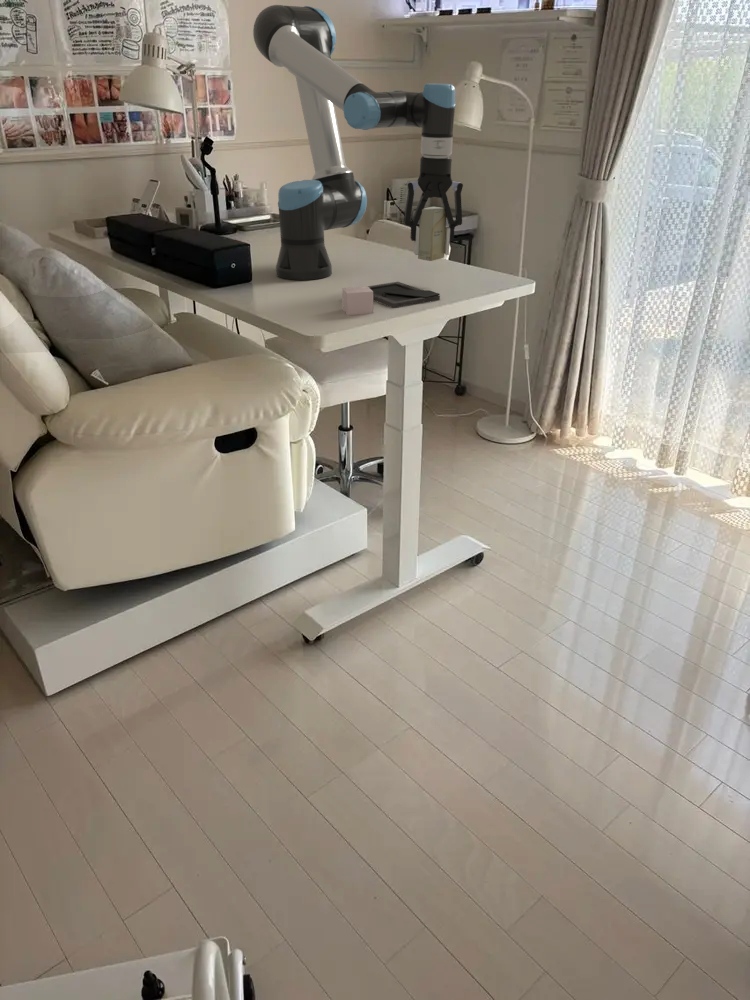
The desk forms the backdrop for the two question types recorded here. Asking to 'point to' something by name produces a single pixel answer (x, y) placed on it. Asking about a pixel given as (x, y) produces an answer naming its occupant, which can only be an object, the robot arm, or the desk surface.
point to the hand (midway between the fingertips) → (431, 253)
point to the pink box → (357, 300)
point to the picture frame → (401, 294)
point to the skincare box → (432, 233)
